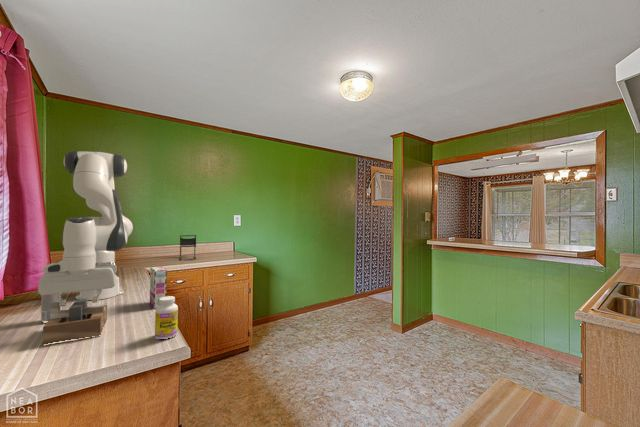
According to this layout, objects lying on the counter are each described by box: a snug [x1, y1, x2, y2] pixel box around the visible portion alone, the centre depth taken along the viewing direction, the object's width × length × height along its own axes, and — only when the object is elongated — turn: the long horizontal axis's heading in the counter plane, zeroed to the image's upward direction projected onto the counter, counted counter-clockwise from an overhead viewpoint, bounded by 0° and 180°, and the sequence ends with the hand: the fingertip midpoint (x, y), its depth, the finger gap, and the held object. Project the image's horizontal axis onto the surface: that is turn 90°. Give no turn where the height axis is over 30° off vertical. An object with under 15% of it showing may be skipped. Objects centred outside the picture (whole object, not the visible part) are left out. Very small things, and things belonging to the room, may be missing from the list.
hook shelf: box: [42, 302, 108, 345], centre depth 96 cm, size 16×14×11 cm
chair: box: [179, 234, 197, 261], centre depth 249 cm, size 13×17×22 cm
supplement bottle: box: [154, 295, 179, 340], centre depth 94 cm, size 7×7×13 cm
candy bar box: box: [149, 266, 168, 309], centre depth 125 cm, size 11×5×16 cm, turn 40°
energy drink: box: [40, 294, 62, 322], centre depth 105 cm, size 5×5×12 cm
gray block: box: [68, 299, 88, 322], centre depth 96 cm, size 10×3×8 cm, turn 31°
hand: (79, 304), depth 96 cm, fingers open, 7 cm apart
